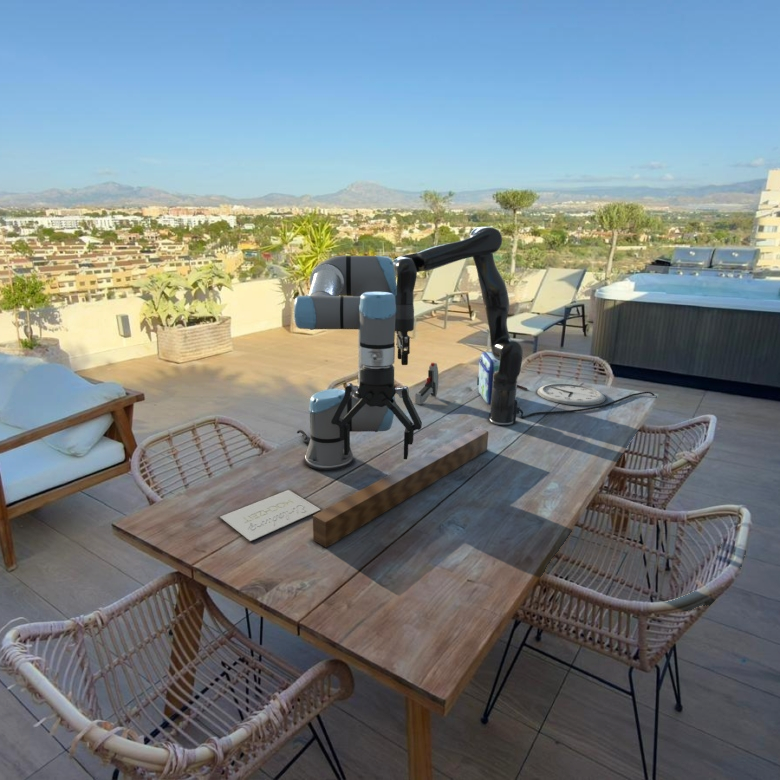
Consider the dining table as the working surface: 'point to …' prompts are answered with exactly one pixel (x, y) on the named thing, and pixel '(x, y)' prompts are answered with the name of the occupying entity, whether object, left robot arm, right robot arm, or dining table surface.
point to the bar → (395, 488)
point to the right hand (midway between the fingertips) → (402, 361)
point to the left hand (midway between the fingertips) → (376, 454)
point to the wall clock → (571, 394)
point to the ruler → (521, 387)
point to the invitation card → (269, 514)
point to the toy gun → (429, 385)
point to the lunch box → (487, 375)
